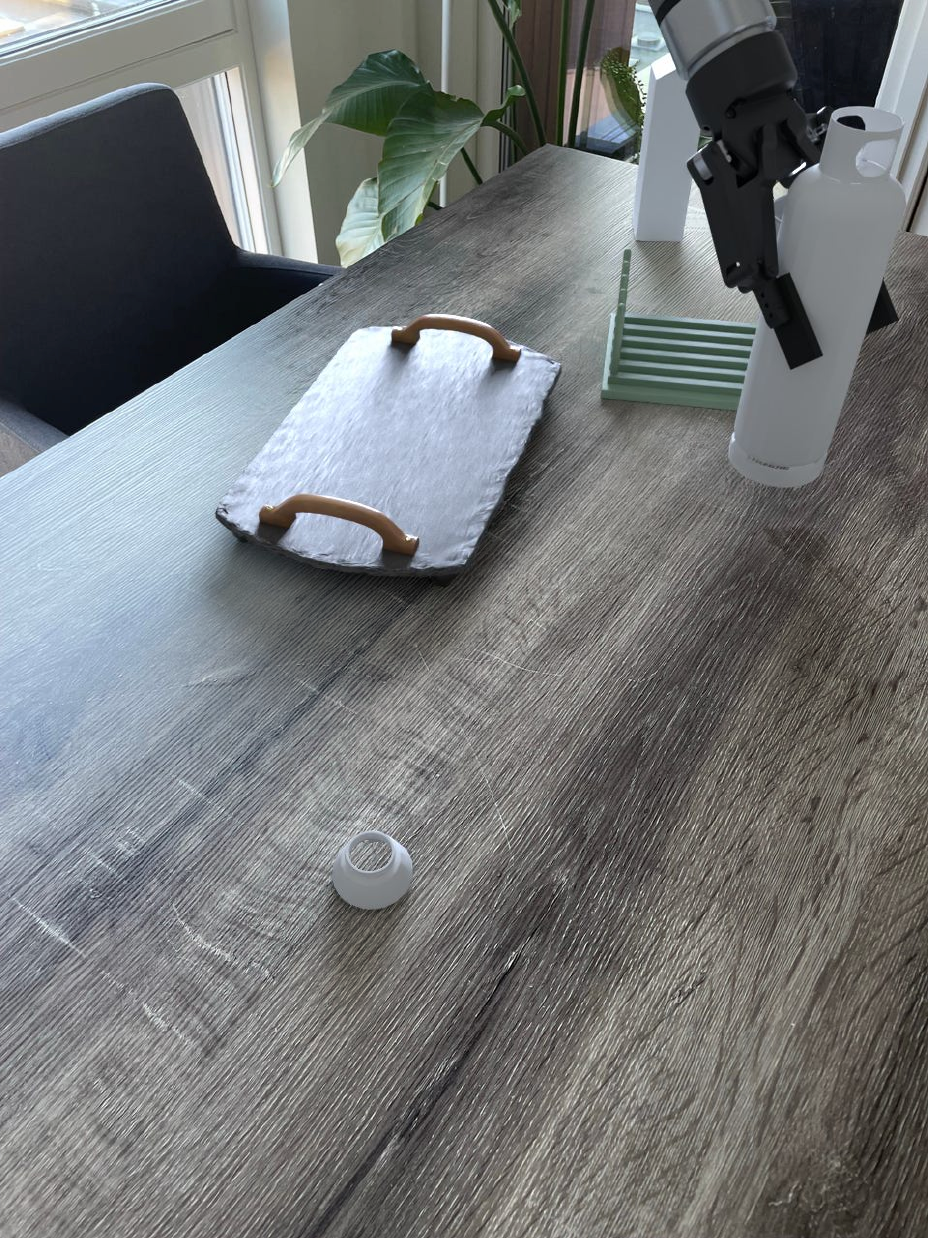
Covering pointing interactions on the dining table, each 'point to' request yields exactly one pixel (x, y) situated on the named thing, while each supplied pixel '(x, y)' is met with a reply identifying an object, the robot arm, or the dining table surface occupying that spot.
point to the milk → (665, 157)
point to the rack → (674, 357)
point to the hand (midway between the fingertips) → (845, 344)
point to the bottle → (822, 298)
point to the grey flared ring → (372, 875)
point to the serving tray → (396, 451)
